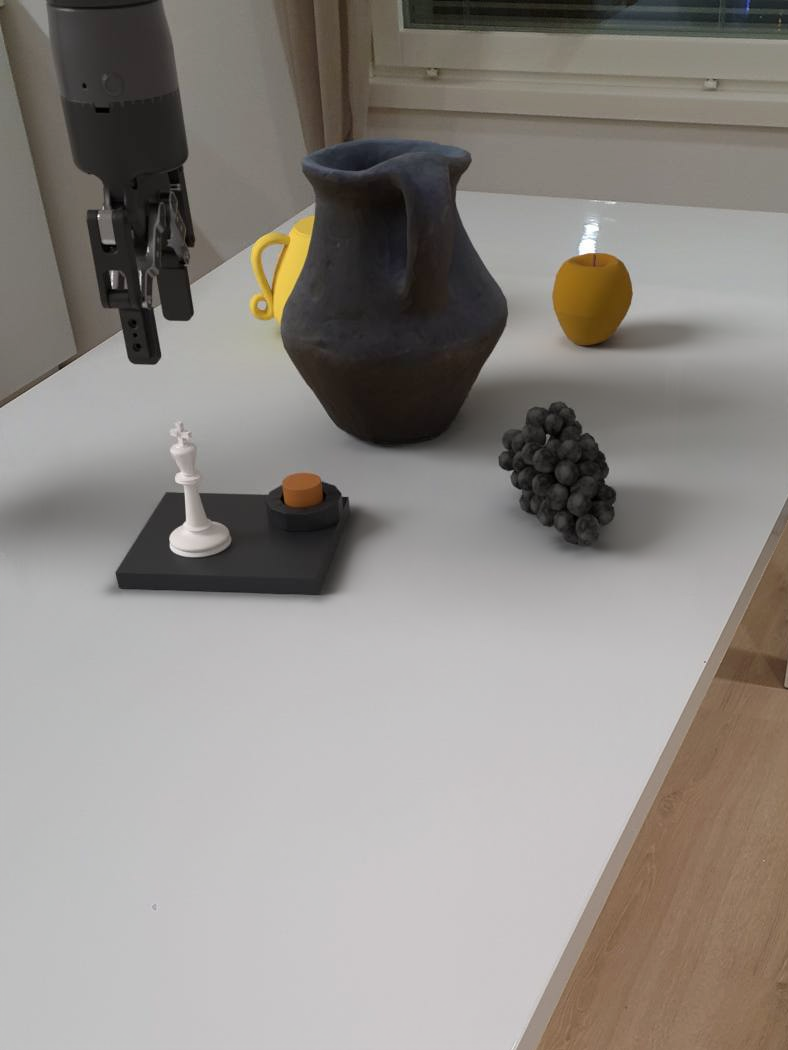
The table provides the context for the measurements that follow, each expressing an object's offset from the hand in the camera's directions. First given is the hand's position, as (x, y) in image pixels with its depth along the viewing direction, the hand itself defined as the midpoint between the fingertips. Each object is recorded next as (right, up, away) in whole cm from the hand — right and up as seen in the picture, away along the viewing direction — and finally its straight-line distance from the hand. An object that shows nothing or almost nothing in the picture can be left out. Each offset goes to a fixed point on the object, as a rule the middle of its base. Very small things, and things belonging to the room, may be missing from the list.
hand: (163, 340), depth 93 cm
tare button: (+8, -8, +13) cm, 18 cm away
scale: (+3, -12, +13) cm, 18 cm away
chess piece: (0, -12, +11) cm, 16 cm away
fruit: (+30, -9, +15) cm, 34 cm away
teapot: (+7, +23, +53) cm, 58 cm away
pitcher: (+16, +4, +31) cm, 35 cm away
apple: (+35, +18, +46) cm, 61 cm away
